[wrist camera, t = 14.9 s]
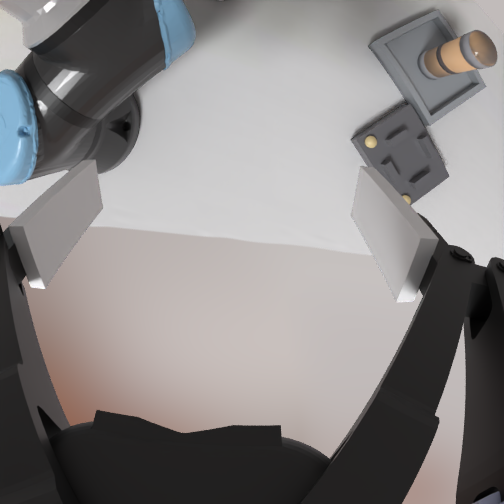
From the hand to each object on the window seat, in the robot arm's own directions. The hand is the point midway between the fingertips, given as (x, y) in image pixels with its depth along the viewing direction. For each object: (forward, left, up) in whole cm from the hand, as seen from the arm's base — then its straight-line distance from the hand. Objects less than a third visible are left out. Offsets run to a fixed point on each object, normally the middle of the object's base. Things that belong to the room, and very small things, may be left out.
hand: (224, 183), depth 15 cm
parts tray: (+3, +31, -30) cm, 43 cm away
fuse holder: (+12, +18, -30) cm, 37 cm away
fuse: (+3, +31, -29) cm, 42 cm away
